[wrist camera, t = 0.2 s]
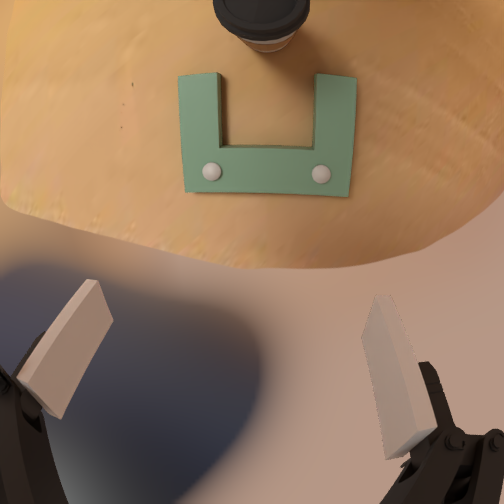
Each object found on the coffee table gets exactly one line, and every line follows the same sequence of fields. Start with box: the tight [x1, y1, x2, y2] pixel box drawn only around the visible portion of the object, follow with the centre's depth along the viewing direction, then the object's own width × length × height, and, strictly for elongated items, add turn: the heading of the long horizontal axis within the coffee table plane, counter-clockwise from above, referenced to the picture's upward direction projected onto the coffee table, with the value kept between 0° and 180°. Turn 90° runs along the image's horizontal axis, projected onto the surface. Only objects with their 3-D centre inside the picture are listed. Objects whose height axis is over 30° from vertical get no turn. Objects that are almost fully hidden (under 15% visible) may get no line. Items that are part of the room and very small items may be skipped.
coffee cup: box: [213, 0, 310, 52], centre depth 22 cm, size 8×8×15 cm
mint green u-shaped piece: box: [178, 73, 357, 197], centre depth 34 cm, size 16×22×3 cm
